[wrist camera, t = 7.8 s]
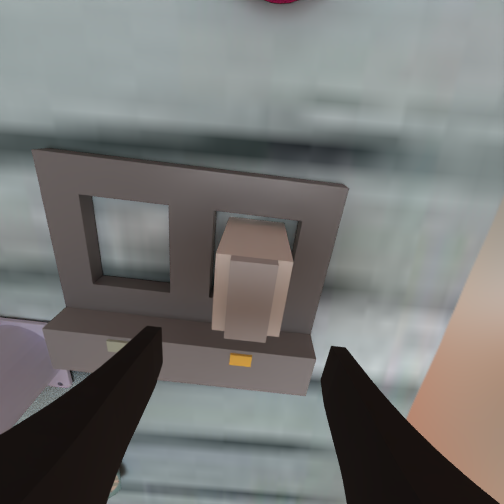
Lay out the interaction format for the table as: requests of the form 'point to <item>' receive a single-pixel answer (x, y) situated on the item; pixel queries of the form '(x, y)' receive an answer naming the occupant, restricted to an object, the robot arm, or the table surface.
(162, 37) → the table surface
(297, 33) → the table surface
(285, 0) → the pepper mill
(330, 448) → the table surface
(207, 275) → the socket panel
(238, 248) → the plug
